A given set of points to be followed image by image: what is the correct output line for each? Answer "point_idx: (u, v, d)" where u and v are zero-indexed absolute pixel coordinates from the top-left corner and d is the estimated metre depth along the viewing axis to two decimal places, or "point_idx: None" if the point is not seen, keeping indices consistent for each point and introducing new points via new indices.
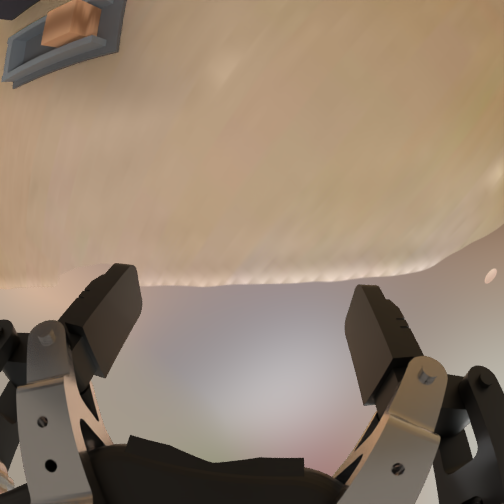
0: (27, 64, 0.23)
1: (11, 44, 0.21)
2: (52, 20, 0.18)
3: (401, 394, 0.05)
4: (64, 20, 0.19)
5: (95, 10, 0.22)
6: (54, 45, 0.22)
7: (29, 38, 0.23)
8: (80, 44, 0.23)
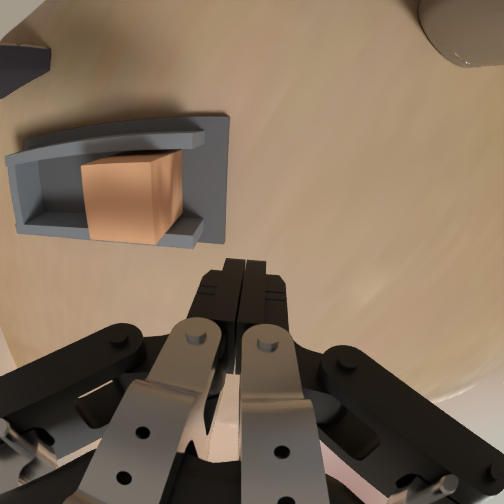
0: (60, 231, 0.23)
1: (14, 173, 0.20)
2: (99, 194, 0.18)
3: (247, 373, 0.05)
4: (132, 209, 0.18)
5: (176, 160, 0.21)
6: None
7: None
8: (169, 245, 0.23)
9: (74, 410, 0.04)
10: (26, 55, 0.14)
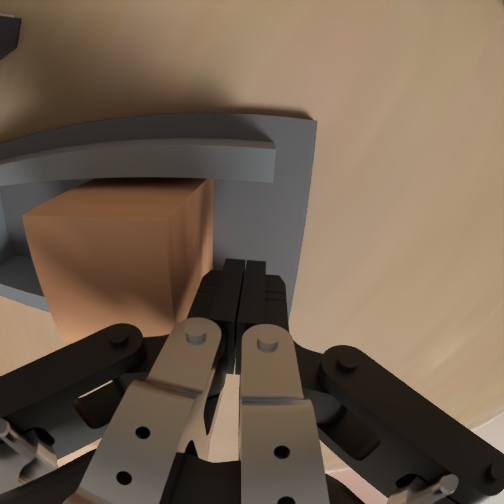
0: (31, 299, 0.13)
1: None
2: (62, 275, 0.08)
3: (247, 373, 0.05)
4: (130, 312, 0.09)
5: (206, 194, 0.12)
6: None
7: None
8: None
9: (74, 410, 0.04)
10: None
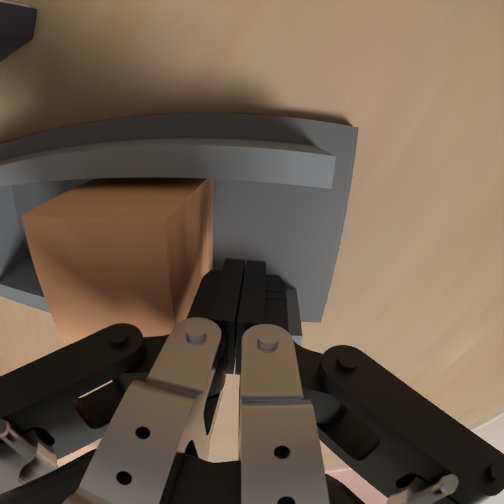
0: None
1: None
2: (62, 276, 0.08)
3: (247, 373, 0.05)
4: (130, 312, 0.09)
5: (206, 194, 0.12)
6: None
7: None
8: None
9: (74, 410, 0.04)
10: None
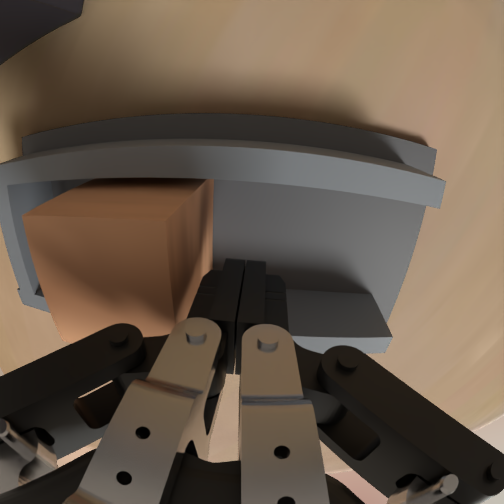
0: None
1: (8, 201, 0.10)
2: (62, 276, 0.08)
3: (247, 373, 0.05)
4: (130, 312, 0.09)
5: (206, 195, 0.12)
6: None
7: None
8: None
9: (74, 410, 0.04)
10: None
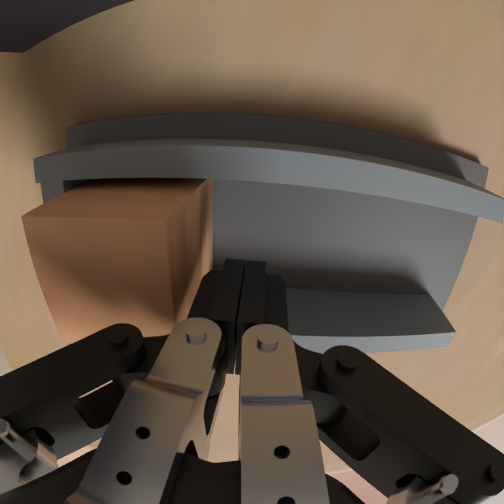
0: None
1: None
2: (62, 276, 0.08)
3: (247, 373, 0.05)
4: (130, 312, 0.09)
5: (206, 195, 0.12)
6: None
7: None
8: (424, 347, 0.13)
9: (74, 410, 0.04)
10: None
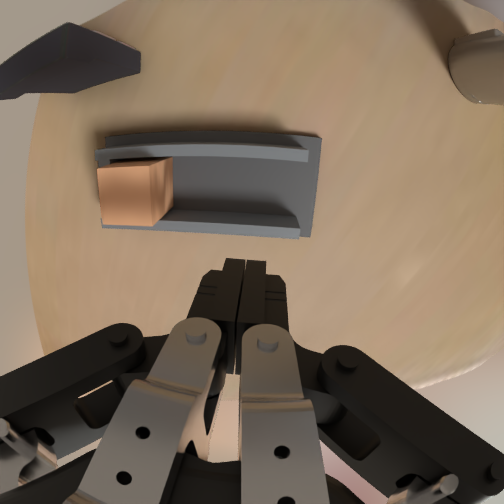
0: (165, 225, 0.29)
1: None
2: (111, 190, 0.24)
3: (247, 373, 0.05)
4: (135, 200, 0.25)
5: (167, 165, 0.28)
6: None
7: None
8: (279, 236, 0.29)
9: (74, 410, 0.04)
10: (125, 53, 0.21)
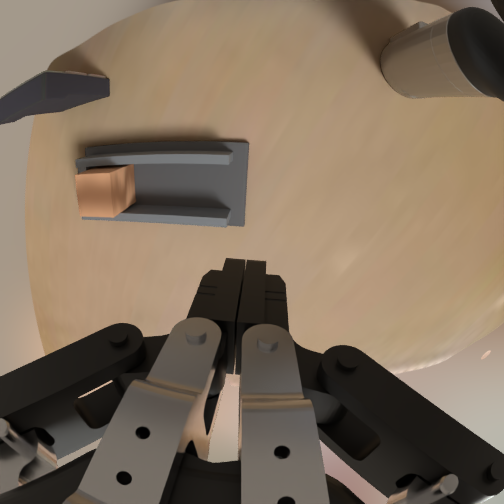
0: (126, 216, 0.36)
1: None
2: (85, 190, 0.31)
3: (247, 373, 0.05)
4: (101, 198, 0.31)
5: (128, 170, 0.35)
6: None
7: None
8: (210, 225, 0.36)
9: (74, 410, 0.04)
10: (94, 83, 0.27)
